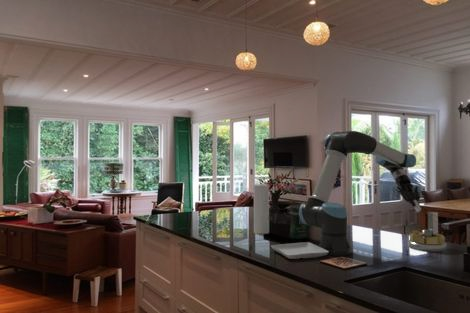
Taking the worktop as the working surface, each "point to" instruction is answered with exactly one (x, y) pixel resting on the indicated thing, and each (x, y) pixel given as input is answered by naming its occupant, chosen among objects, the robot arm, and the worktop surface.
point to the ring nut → (432, 225)
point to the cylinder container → (261, 209)
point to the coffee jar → (297, 224)
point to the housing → (427, 246)
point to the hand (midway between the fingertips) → (419, 210)
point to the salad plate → (300, 250)
